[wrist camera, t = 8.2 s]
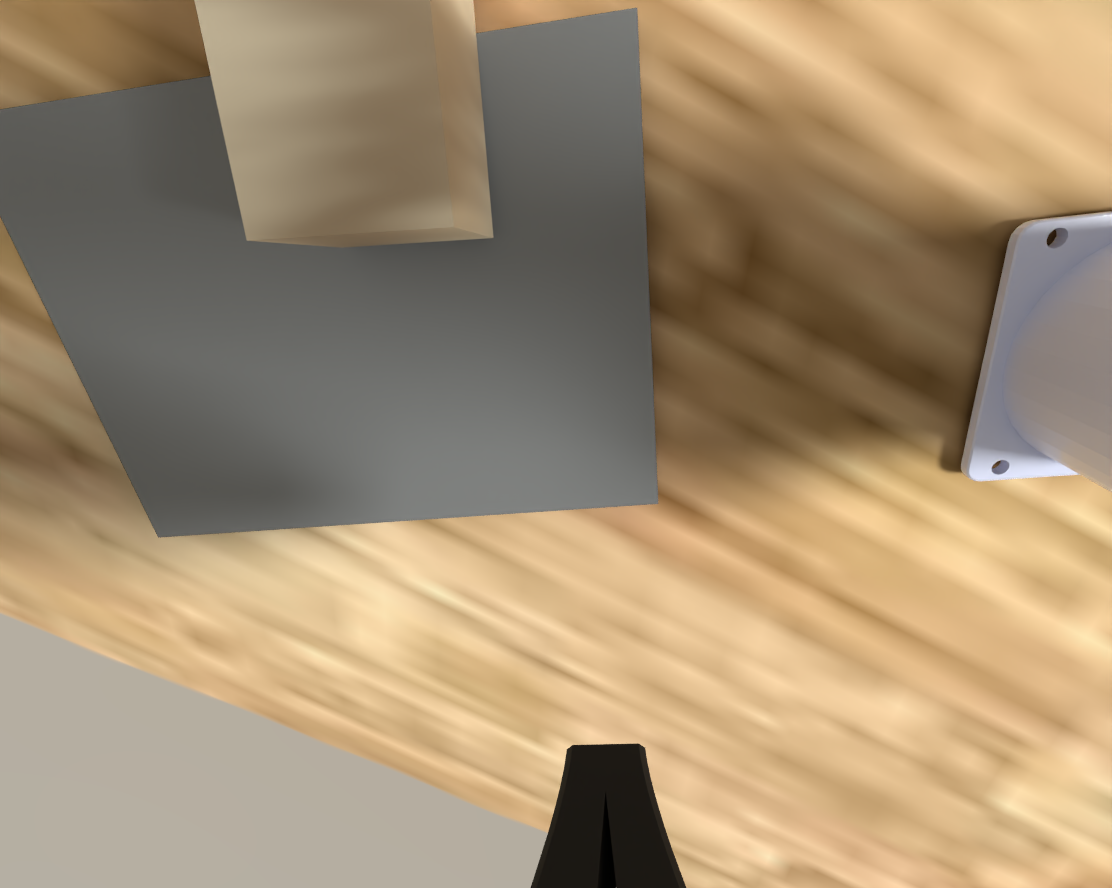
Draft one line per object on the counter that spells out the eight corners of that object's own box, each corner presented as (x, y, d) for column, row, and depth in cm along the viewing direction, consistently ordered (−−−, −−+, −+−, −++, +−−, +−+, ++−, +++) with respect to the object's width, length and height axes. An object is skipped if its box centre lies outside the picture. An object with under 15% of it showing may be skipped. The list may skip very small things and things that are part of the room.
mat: (635, 15, 14) (637, 7, 13) (656, 495, 19) (658, 503, 19) (-27, 120, 16) (-49, 117, 15) (169, 528, 21) (158, 537, 21)
